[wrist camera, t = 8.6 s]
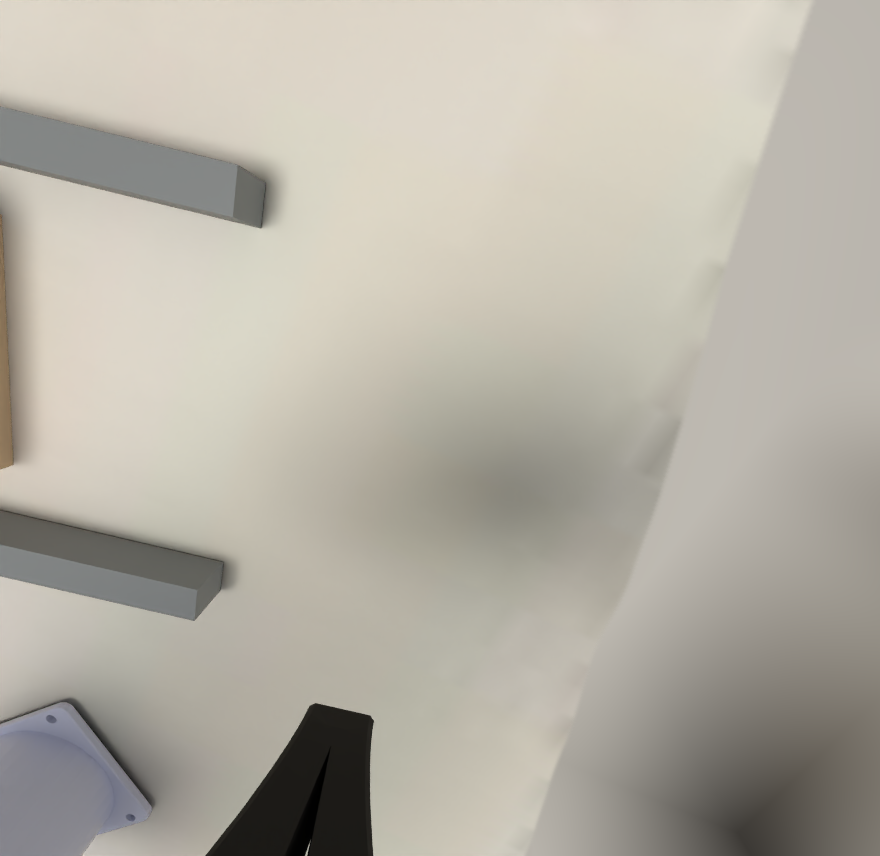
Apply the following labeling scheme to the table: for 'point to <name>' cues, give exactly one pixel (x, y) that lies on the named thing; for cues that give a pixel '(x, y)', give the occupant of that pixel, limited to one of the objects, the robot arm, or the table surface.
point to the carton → (4, 373)
